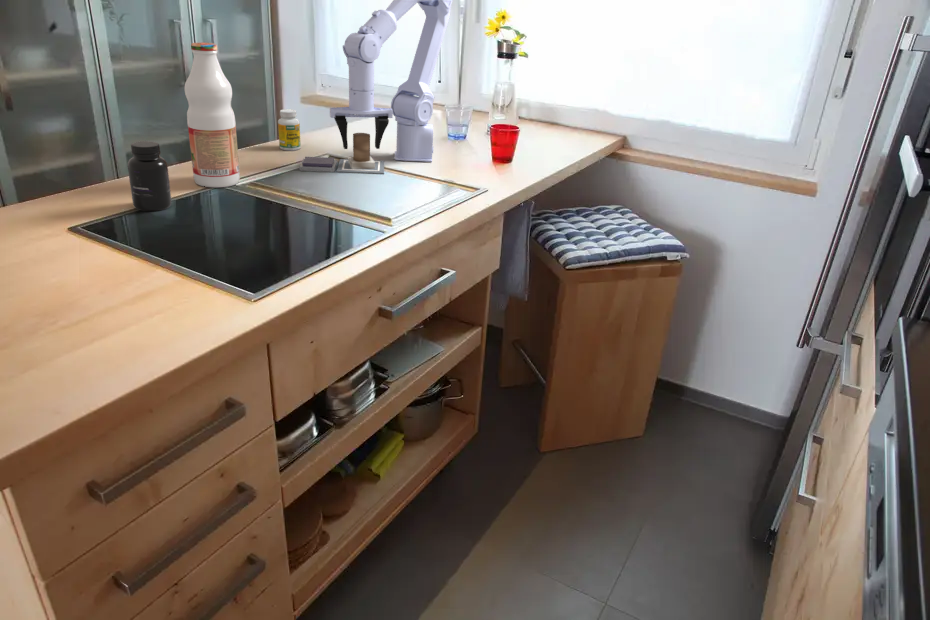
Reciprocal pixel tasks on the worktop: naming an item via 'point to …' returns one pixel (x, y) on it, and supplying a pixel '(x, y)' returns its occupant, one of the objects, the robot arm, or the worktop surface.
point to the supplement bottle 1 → (149, 177)
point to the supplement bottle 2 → (289, 130)
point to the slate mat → (347, 168)
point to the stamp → (361, 152)
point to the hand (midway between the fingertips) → (361, 148)
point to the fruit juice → (211, 120)
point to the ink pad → (318, 164)
